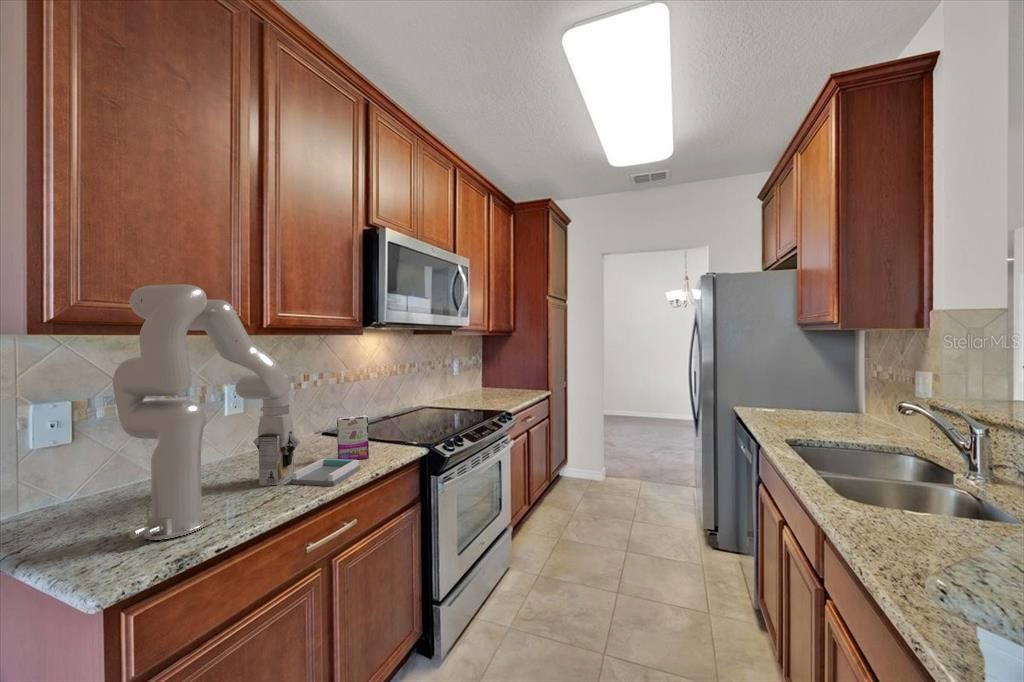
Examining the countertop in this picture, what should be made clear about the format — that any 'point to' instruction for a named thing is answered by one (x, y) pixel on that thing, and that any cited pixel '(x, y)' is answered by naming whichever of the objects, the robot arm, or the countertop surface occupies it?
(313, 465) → the tray
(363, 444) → the candy bar box
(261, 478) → the coffee box
